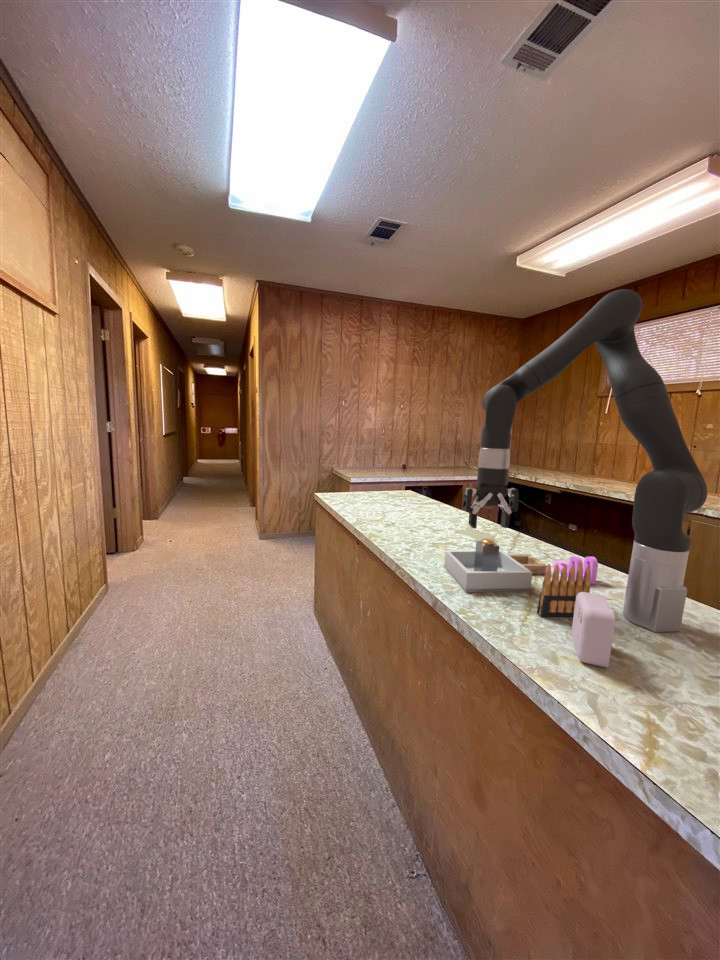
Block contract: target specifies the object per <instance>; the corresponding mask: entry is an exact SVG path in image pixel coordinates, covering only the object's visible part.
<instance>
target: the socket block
mask: <svg viewBox="0 0 720 960" xmlns="http://www.w3.org/2000/svg"><path fill="white" fill-rule="evenodd" d="M506 554H507V553H506ZM507 555H509V556H510V557H512V558H513V559H514V560H516V561H517V562H519V563H520V564H521V565H523V566H524V567H526V568H527V569H528V570H530V571H531V572H533V573H532V575H545V571H546V568H547V565H548V564H546V563H544V562H543V561H541V560H540V559H538V558H536V557H535V556H534V555H532V554H528V553H526V554H522V553H521V554H519V553H517V554H516V553H515V554H509V553H508V554H507Z"/></svg>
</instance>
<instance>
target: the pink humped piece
mask: <svg viewBox="0 0 720 960" xmlns="http://www.w3.org/2000/svg"><path fill="white" fill-rule="evenodd" d="M556 564H558V566H559V574H561V571H562V568H563V566H564V564H566V566H567V579H568V576H569V571H570V568H571V566H572V564H574V566H575V579H576V575H577V570H578V568H579V566H580V565H582V567H583V578H584V574H585V570H586V567H587V566H588V565H590V568H591V577H590V578H591V579H590V584H591V585H596V584H597V576H598V575H597V574H598V569H599V568H598V567H599V562H598V559H597V558H596V557H595V556H585V557H584V560H582V557H580V556H578V555H577V556H575V555H573V556H570V557H569V559H568V562H567V561H561V560H560V561H559V560H558V561H553V565H552V568H553V569H554V568H555V566H556ZM582 582H583V580H582Z"/></svg>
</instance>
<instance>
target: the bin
mask: <svg viewBox="0 0 720 960" xmlns="http://www.w3.org/2000/svg"><path fill="white" fill-rule="evenodd" d="M475 551H476V550H445V552H444V567H443V568H445V569H444V570H446V571H447V572H448V573H449V575H450V577H452V579H454V581H455V582H456V583H457V584H458V586H459V587H460V588H461V589H462V590H463V591H464V593H503V592H505V593H506V592H507V593H508V592H512V593H513V592H517V593H518V592H531V589H532V579H533V574H532V573H533V572H531V571H530V570H528V569H527V568H526V567H524V566H523V565H521V564H520V563H519V562H517V561H516V560H514V559H513V558H512V557H510V556H509V555H507V553H506V552H504V551H503V550H499V556H498V566H497V571H474V562H475Z"/></svg>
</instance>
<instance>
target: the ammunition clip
mask: <svg viewBox="0 0 720 960" xmlns="http://www.w3.org/2000/svg"><path fill="white" fill-rule="evenodd" d="M546 565H547V568H546V571H545V574H544V577H543V581H542V584H541V585H542V586H541V591H540V593H539V599H538V603H537V611H536V614H538V616H539V617H540V618H543V619H544V618H545V619H546V618H548V619H551V618H552V619H557V618H558V619H573V617H574V609H575V601H576V596H577V594H578V593H580V592H586V593H591V585H592V584H590V579H591V578H590V577H591V568H590V565H588V566H587V567H586V570H585V574H584V578H583V567H582V565H580V566H579V568H578V570H577V575H576V579H575V566H574V564H572V566H571V568H570V571H569V576H568V578H567V566H566V564H564V566H563V568H562V571H561V573H560V572H559V566H558V564H556V566H555V568H553V571H552V566H551V564H550V563H548V564H546ZM582 580H583V582H582Z"/></svg>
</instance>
